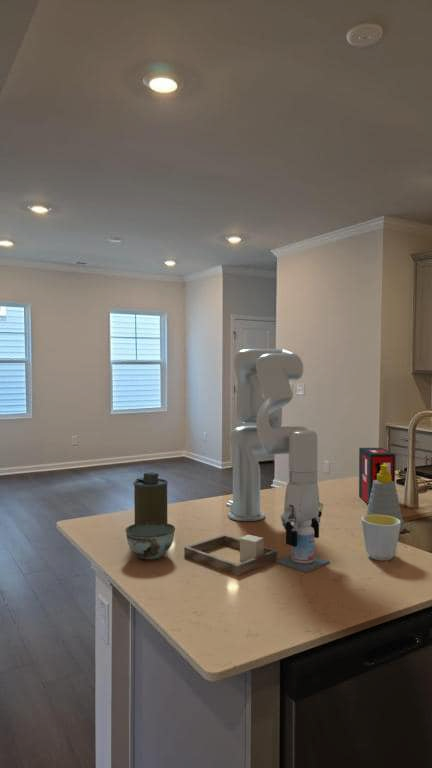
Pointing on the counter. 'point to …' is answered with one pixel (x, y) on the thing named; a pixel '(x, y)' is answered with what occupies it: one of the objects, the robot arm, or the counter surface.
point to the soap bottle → (384, 497)
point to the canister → (150, 499)
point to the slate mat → (301, 566)
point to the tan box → (250, 547)
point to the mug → (380, 536)
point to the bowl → (150, 539)
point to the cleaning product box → (373, 468)
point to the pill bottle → (304, 543)
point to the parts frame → (236, 569)
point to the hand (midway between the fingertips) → (302, 541)
